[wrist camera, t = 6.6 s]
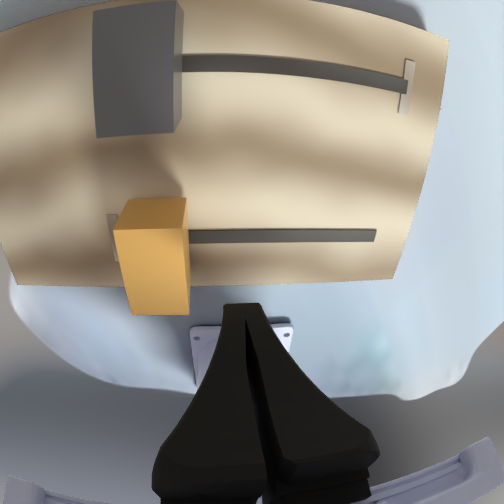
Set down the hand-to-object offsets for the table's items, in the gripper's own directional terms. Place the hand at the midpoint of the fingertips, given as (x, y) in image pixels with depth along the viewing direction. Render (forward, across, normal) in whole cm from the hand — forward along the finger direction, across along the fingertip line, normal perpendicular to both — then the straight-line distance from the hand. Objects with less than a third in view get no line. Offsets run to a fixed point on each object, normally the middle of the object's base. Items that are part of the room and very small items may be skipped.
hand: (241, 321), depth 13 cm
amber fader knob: (+6, +4, 0) cm, 7 cm away
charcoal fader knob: (+6, +4, -9) cm, 12 cm away
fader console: (+8, +2, -5) cm, 10 cm away
